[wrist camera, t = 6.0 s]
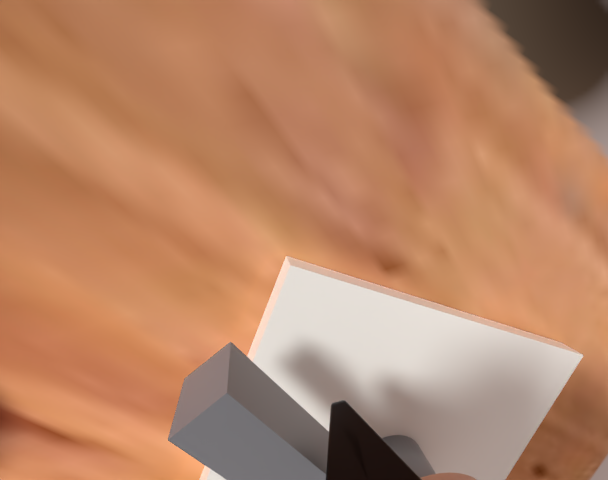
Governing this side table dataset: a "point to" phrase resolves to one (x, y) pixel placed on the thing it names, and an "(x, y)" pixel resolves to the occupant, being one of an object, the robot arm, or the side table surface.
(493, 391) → the base plate
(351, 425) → the robot arm
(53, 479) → the side table surface
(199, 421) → the pink and grey piece
